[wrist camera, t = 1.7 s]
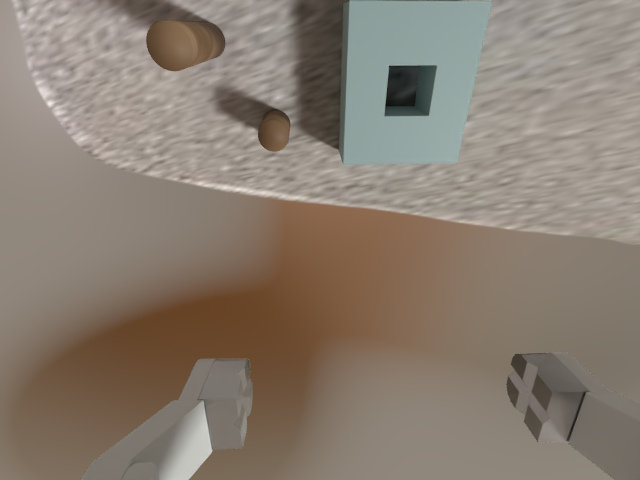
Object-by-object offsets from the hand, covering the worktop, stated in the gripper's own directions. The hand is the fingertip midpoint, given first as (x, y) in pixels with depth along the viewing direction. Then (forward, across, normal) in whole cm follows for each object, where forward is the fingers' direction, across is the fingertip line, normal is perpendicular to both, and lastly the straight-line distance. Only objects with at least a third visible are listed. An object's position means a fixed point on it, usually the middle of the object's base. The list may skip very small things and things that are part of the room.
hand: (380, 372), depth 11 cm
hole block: (+31, -7, -10) cm, 33 cm away
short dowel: (+32, +6, -6) cm, 33 cm away
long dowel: (+30, +12, -14) cm, 35 cm away
